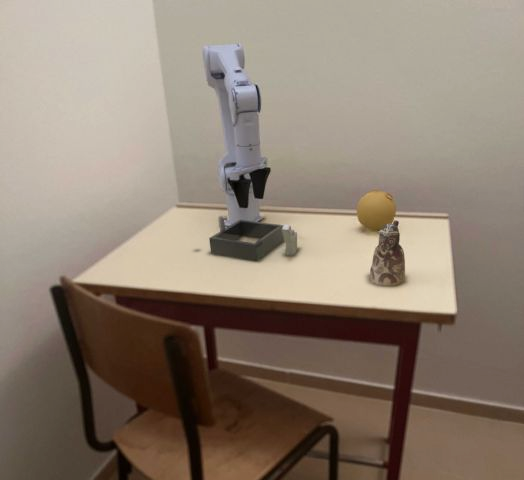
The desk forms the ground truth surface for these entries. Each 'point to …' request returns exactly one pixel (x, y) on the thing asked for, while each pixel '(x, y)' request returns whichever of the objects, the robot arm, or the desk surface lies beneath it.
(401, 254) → the figurine
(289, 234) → the lighter
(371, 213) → the stress ball
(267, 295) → the desk surface
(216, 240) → the sink
